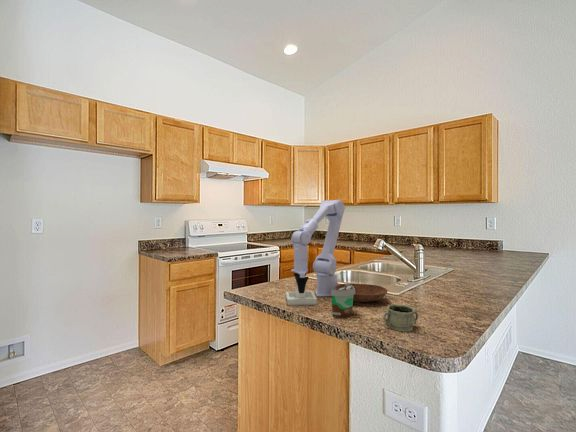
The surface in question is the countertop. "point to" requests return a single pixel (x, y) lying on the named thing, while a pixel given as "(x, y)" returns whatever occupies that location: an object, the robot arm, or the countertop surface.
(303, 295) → the shaker
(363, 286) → the bowl
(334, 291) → the food container
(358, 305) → the countertop surface
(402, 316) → the vessel
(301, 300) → the tray
